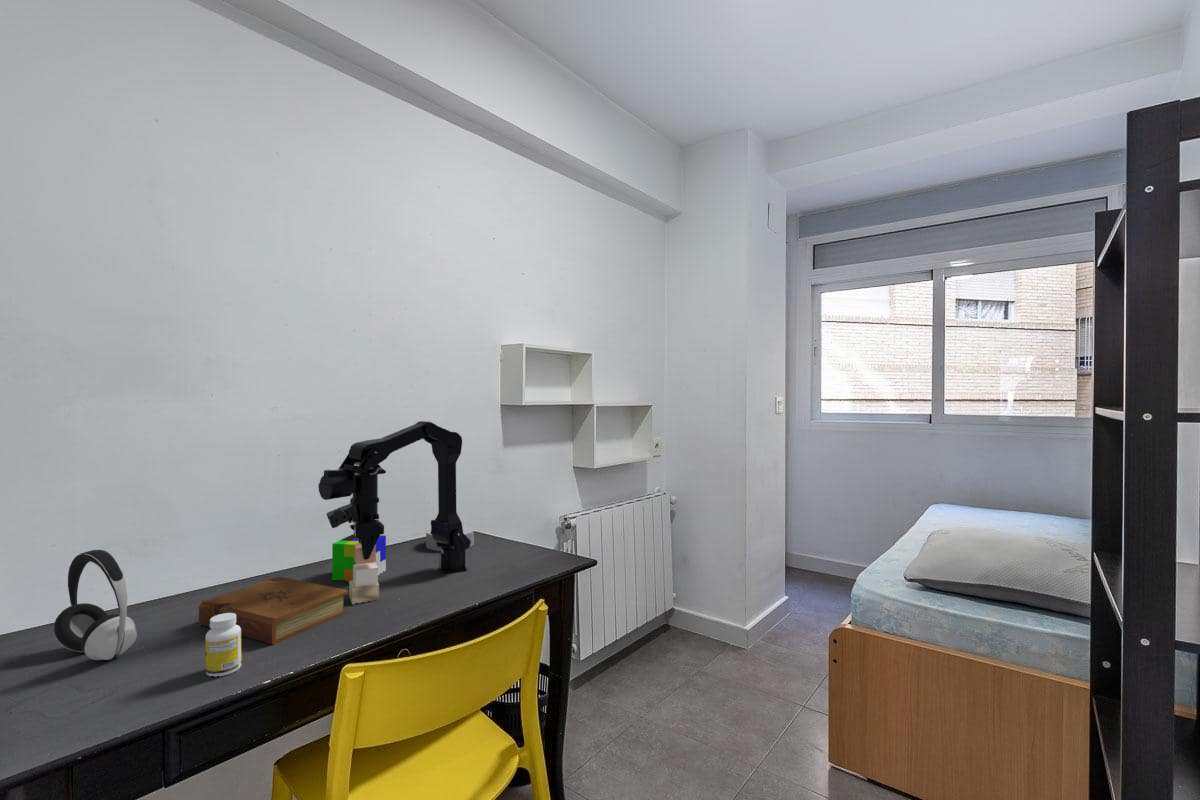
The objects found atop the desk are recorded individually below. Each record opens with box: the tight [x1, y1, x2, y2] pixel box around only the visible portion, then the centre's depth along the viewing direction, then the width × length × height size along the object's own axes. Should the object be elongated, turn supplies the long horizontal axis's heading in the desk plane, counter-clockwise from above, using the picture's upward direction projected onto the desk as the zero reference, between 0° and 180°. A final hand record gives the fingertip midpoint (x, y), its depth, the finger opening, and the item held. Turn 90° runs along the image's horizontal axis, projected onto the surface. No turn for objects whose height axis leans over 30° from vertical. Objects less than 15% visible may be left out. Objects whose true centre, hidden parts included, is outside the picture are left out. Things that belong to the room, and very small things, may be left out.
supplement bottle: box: [204, 613, 243, 678], centre depth 102 cm, size 5×5×10 cm
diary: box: [198, 576, 349, 646], centre depth 125 cm, size 23×19×6 cm
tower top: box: [353, 562, 379, 587], centre depth 138 cm, size 5×5×4 cm
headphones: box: [53, 549, 138, 661], centre depth 107 cm, size 19×8×20 cm, turn 65°
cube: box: [354, 543, 376, 565], centre depth 137 cm, size 4×4×4 cm
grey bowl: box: [425, 525, 475, 552], centre depth 186 cm, size 15×15×5 cm
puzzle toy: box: [331, 533, 387, 582], centre depth 155 cm, size 10×10×10 cm
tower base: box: [348, 581, 380, 605], centre depth 138 cm, size 6×6×4 cm
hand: (365, 556), depth 138 cm, fingers closed on cube, 4 cm apart
